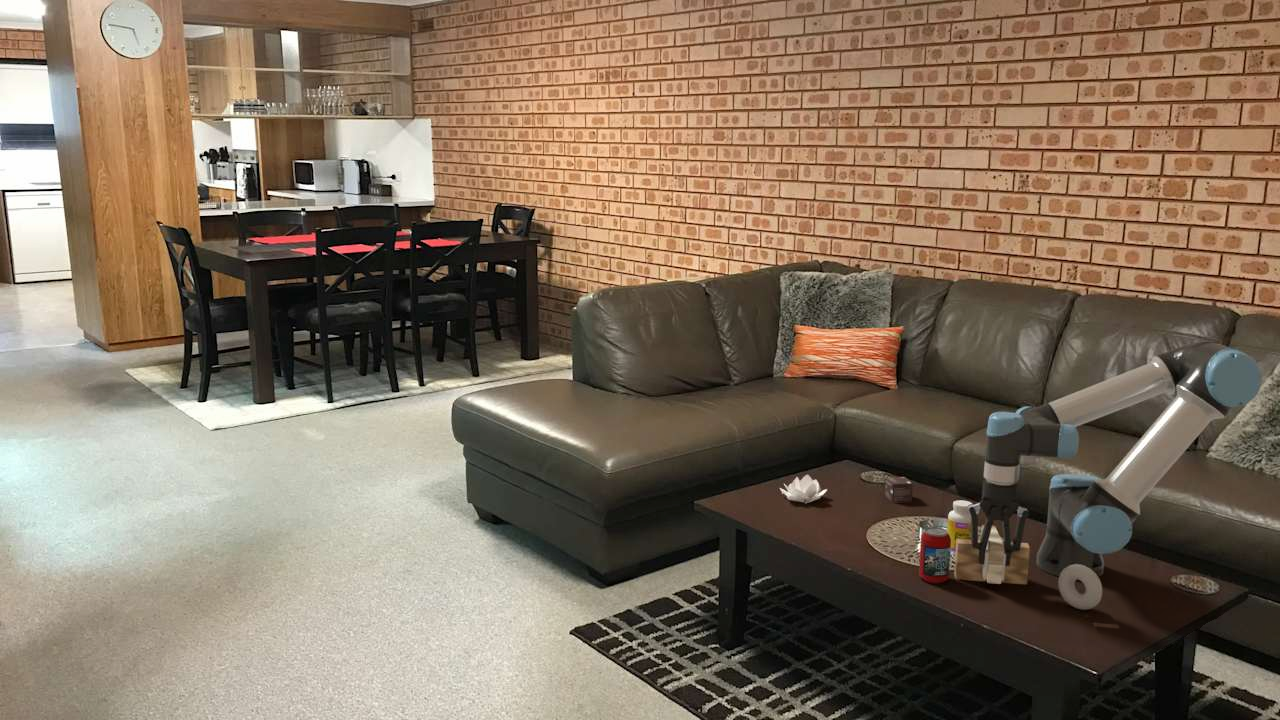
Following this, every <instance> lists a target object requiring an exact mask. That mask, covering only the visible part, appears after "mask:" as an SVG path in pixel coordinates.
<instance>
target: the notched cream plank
mask: <svg viewBox="0 0 1280 720" xmlns="http://www.w3.org/2000/svg"><path fill="white" fill-rule="evenodd" d="M983 528H984V524H982V525H981V531H980V532H981V533H980V534H981V535H980V537H981V536H982V532H983ZM1002 542H1003V540H1002V538H1001V536H1000V534H999V532H998V530H997V527H996V526H995V525H992V528H991V532H990V536H989V540H988V544H987V548H986V549H988V551H989V560H988V572H987V584H994V585H995V584H997V585H1001V584H1002V583H1001V581H1002V569H1003V556H1004V545H1003V543H1002Z"/></svg>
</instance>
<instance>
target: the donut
mask: <svg viewBox="0 0 1280 720" xmlns="http://www.w3.org/2000/svg"><path fill="white" fill-rule="evenodd" d="M1077 580H1079V581H1081V582H1082V583H1083V585H1084V588H1085V592H1084V593H1083V594H1082V593H1080V592H1079V591H1078V590H1077V588H1076V586H1075V582H1076V581H1077ZM1057 583H1058V584H1057V585H1058V589H1059V593H1060V595H1061V597H1062V598H1063V599H1064V601H1065V602H1066V603H1067V604H1069V606H1070V607H1073V608H1074V609H1077V610H1082V611H1083V610H1084V611H1086V610H1091V609H1093V608H1095V607H1096V606H1098V605H1099V603H1100V601H1101V600H1102V597H1103V585H1102V582H1101V579H1100V577H1098V576H1097V575H1096V573H1094V572H1093V571H1092V570H1091V569H1090V568H1088V567H1086V566H1084V565H1079V564H1074V565H1069V566H1068V567H1066V568H1065V569H1063V571H1062V572H1061V574H1060V576H1058V581H1057Z"/></svg>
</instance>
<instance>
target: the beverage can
mask: <svg viewBox="0 0 1280 720" xmlns="http://www.w3.org/2000/svg"><path fill="white" fill-rule="evenodd" d="M920 536H921V537H920V549H919V552H920V553H919V568H918V570H919V571H918V574H919V575H918V576H919V577H920V578H921V579H922V580H924V581H925V582H927V583H930V582H931V584H942V583H944V582H945V581H948V580H949V576H950V575H949V574H950V563H951V562H950V561H951V552H950V549H951V538H950V536H949V534H948V531H947V528H946V529H945V528H942V527H939V526H937V527H936V526H931V527H930V526H929V527H926V528H925V529H924V531H923V533H922V534H921V535H920ZM941 582H942V583H941Z"/></svg>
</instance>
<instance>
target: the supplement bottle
mask: <svg viewBox="0 0 1280 720" xmlns="http://www.w3.org/2000/svg"><path fill="white" fill-rule="evenodd" d="M970 504H972V505H974V504H973V503H972V502H971V501H968V500H961V499H960V500H955V501H953V503H952V508H953V510H950V512H949V513H948V515H947V527H946V530H947V531H948V534H949V536H950V538H951V549H950V553H951V552H953V553H952V554H954V553H955V555H956V541H957V539H969V540H971V514H970V511H969V509H968V505H970Z"/></svg>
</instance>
